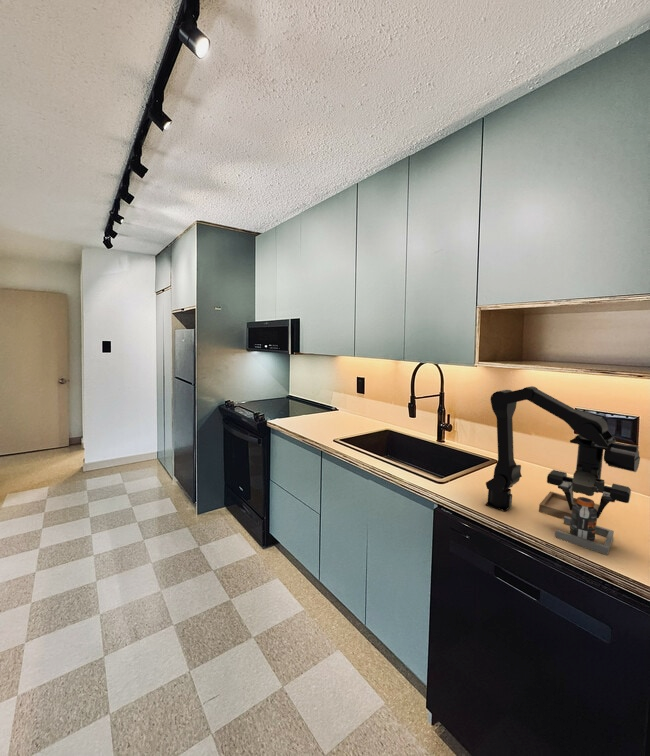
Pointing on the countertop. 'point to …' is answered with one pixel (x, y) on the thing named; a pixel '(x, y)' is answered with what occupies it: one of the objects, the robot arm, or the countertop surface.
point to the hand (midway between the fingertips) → (584, 513)
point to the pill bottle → (583, 519)
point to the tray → (558, 505)
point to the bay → (584, 542)
